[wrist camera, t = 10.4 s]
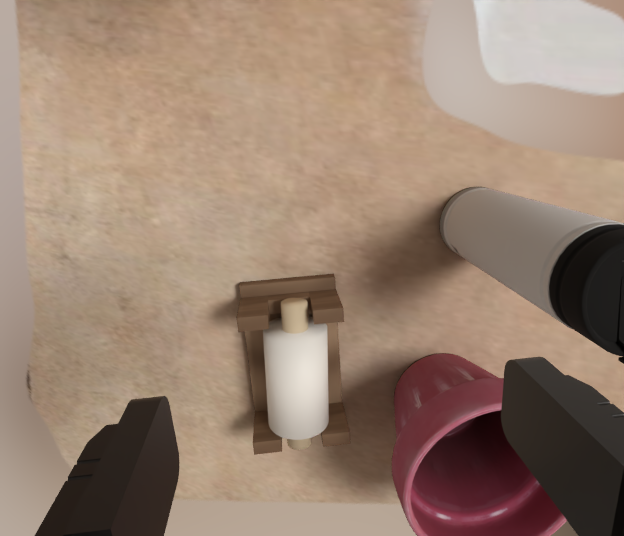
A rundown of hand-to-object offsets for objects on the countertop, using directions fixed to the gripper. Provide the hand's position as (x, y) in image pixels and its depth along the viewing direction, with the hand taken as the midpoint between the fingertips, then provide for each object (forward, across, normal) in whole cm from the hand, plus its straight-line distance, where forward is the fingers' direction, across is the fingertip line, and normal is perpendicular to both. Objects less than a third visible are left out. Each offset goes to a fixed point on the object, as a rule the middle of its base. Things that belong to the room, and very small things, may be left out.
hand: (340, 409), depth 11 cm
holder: (+29, +1, +14) cm, 32 cm away
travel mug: (+29, -16, +3) cm, 34 cm away
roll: (+27, -1, +15) cm, 31 cm away
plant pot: (+29, -13, +20) cm, 38 cm away
